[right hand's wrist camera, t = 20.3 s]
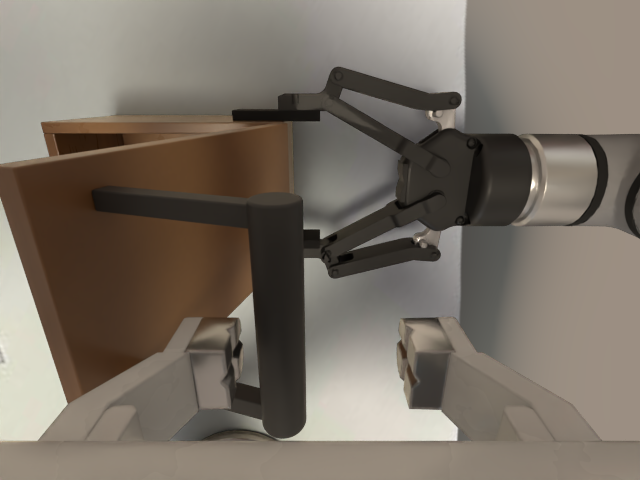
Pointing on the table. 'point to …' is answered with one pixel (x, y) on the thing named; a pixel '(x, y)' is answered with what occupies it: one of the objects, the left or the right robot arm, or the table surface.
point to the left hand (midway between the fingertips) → (241, 180)
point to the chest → (141, 132)
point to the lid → (166, 256)
